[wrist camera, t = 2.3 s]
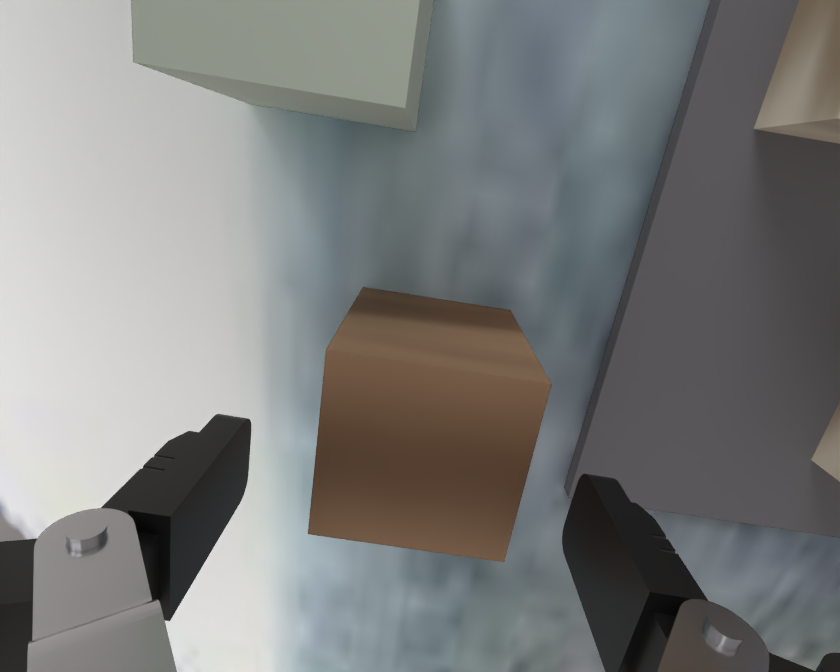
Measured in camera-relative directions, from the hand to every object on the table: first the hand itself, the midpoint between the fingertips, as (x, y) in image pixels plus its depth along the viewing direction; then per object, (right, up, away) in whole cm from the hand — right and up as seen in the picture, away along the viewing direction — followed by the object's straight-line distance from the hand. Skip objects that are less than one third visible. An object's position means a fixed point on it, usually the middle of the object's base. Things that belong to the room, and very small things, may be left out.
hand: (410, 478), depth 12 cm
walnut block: (0, +2, +5) cm, 6 cm away
